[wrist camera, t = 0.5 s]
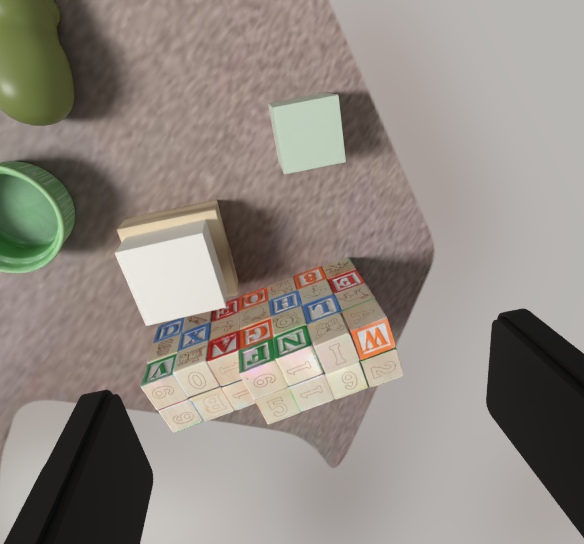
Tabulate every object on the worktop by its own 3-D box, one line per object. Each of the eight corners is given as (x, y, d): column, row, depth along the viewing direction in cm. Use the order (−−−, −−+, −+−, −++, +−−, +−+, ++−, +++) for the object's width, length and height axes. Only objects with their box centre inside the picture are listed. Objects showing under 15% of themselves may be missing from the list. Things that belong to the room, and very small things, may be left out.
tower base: (126, 216, 38) (116, 229, 34) (217, 198, 38) (215, 209, 35) (156, 295, 41) (149, 313, 38) (238, 278, 42) (238, 294, 38)
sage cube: (268, 103, 35) (272, 107, 30) (325, 92, 35) (338, 94, 30) (278, 162, 37) (284, 174, 32) (332, 151, 37) (345, 161, 32)
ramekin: (54, 143, 34) (30, 151, 30) (99, 240, 38) (83, 259, 34) (-52, 168, 34) (-90, 180, 30) (5, 263, 38) (-23, 284, 34)
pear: (-24, 122, 28) (-60, -51, 25) (18, 128, 33) (-8, -16, 30) (62, 122, 28) (37, -47, 25) (90, 128, 33) (71, -13, 31)
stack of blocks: (183, 368, 45) (166, 462, 34) (157, 325, 43) (129, 411, 32) (364, 303, 44) (406, 378, 33) (349, 254, 42) (389, 318, 31)
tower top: (125, 237, 35) (114, 252, 32) (205, 218, 35) (202, 232, 32) (153, 305, 38) (146, 325, 35) (226, 288, 38) (225, 307, 35)
